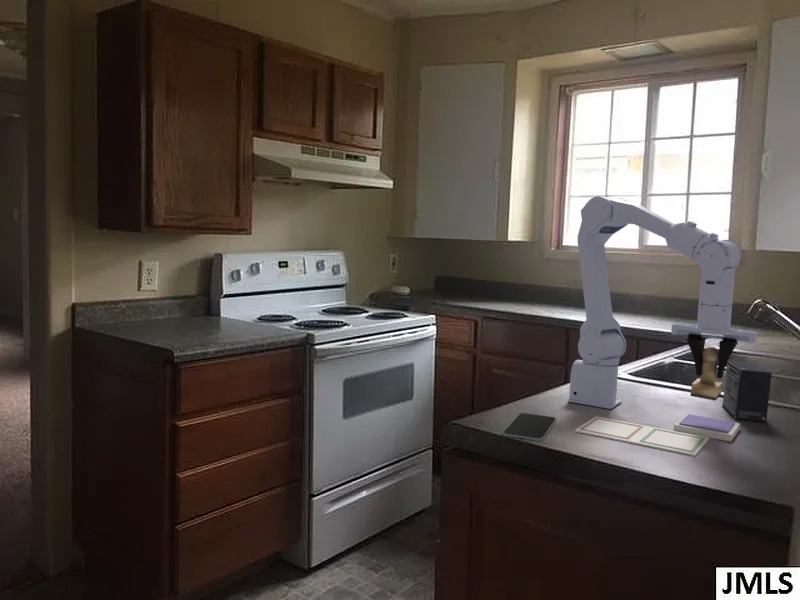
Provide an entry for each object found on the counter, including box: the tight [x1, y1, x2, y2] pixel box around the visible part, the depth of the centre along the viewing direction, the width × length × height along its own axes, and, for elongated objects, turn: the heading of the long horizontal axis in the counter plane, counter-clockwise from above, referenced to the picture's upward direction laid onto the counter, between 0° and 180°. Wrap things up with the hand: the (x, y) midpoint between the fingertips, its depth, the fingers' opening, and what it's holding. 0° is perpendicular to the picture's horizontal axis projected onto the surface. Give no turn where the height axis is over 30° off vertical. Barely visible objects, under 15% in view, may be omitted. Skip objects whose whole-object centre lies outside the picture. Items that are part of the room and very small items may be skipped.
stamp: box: [690, 346, 723, 402], centre depth 131 cm, size 4×6×9 cm
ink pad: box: [672, 413, 741, 443], centre depth 131 cm, size 10×10×2 cm
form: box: [574, 416, 710, 457], centre depth 127 cm, size 21×12×1 cm, turn 56°
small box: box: [721, 359, 773, 423], centre depth 144 cm, size 11×6×10 cm, turn 168°
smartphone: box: [502, 412, 557, 442], centre depth 129 cm, size 7×1×15 cm
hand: (709, 376), depth 131 cm, fingers closed on stamp, 3 cm apart
